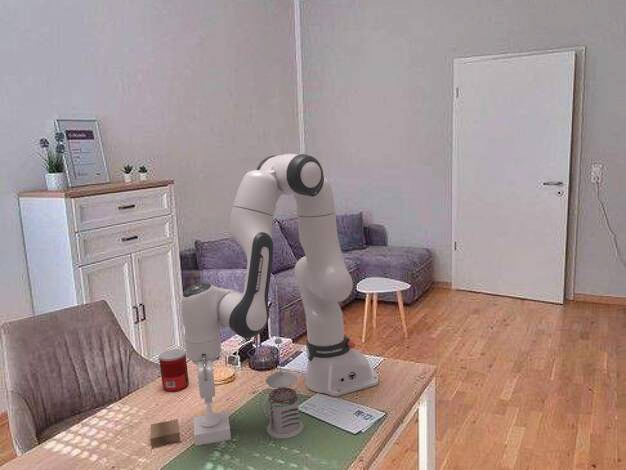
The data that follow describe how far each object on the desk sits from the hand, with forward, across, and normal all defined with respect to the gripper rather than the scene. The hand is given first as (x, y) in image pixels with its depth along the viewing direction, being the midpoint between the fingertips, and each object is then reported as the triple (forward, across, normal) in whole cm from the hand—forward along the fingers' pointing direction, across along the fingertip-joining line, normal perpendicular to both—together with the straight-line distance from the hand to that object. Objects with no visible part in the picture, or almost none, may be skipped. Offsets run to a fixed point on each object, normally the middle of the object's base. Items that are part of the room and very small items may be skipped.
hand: (208, 397), depth 136 cm
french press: (+10, -4, -18) cm, 21 cm away
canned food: (+10, +31, +10) cm, 34 cm away
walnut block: (+11, +2, +12) cm, 16 cm away
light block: (+10, 0, 0) cm, 10 cm away
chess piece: (+7, 0, 0) cm, 7 cm away
